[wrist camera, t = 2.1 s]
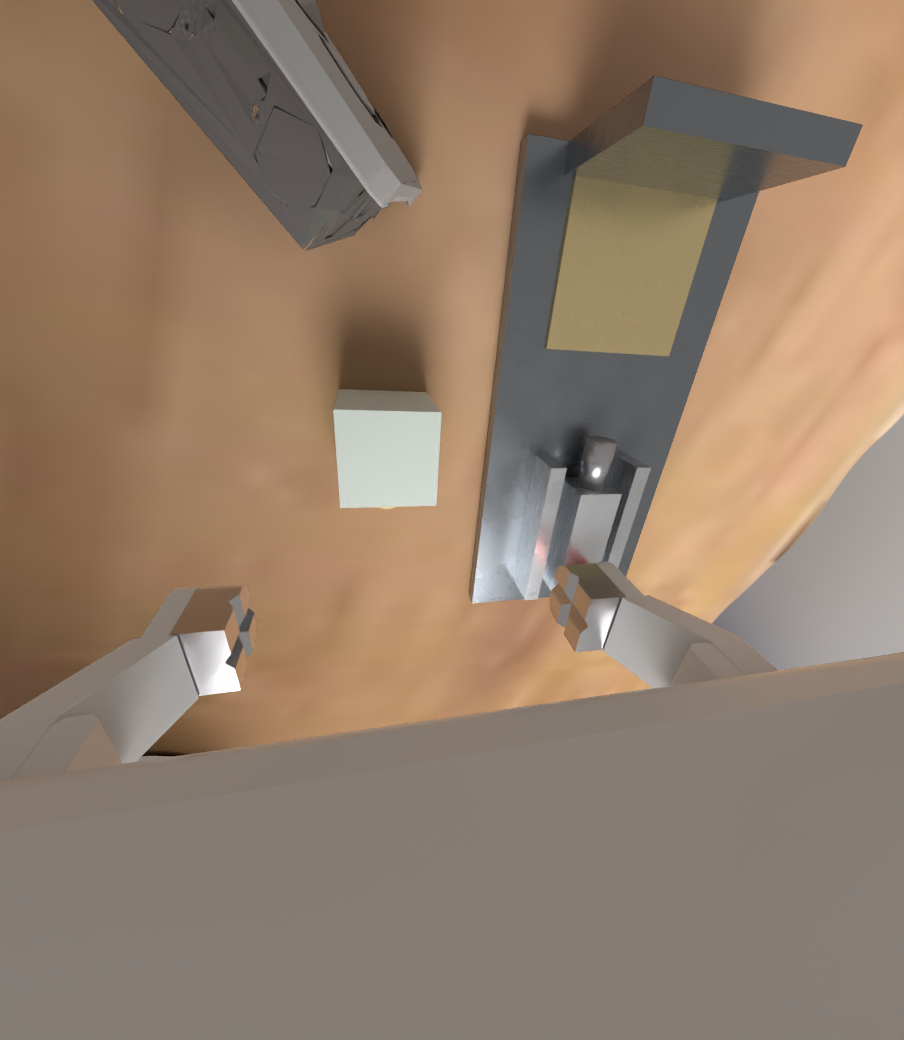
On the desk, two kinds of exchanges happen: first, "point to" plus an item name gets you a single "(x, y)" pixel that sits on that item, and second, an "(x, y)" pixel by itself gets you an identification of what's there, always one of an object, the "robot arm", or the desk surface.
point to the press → (620, 301)
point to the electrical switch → (275, 106)
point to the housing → (386, 448)
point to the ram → (584, 511)
